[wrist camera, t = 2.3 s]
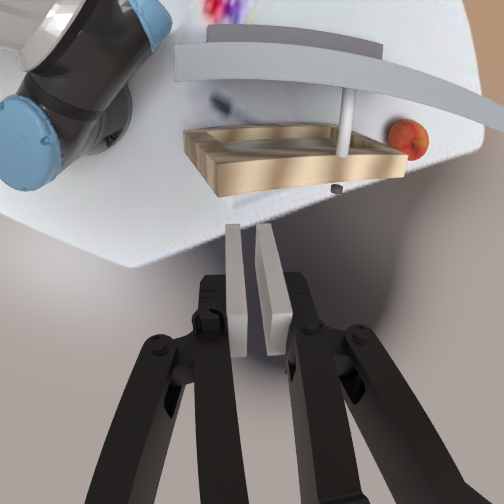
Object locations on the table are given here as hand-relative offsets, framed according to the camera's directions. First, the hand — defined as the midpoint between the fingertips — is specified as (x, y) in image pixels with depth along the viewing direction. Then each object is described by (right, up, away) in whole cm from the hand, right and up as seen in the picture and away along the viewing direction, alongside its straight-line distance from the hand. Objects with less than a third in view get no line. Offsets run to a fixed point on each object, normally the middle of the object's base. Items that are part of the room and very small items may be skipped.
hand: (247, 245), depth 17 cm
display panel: (+7, +28, +23) cm, 37 cm away
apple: (+27, +22, +30) cm, 46 cm away
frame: (+2, +16, +24) cm, 29 cm away
